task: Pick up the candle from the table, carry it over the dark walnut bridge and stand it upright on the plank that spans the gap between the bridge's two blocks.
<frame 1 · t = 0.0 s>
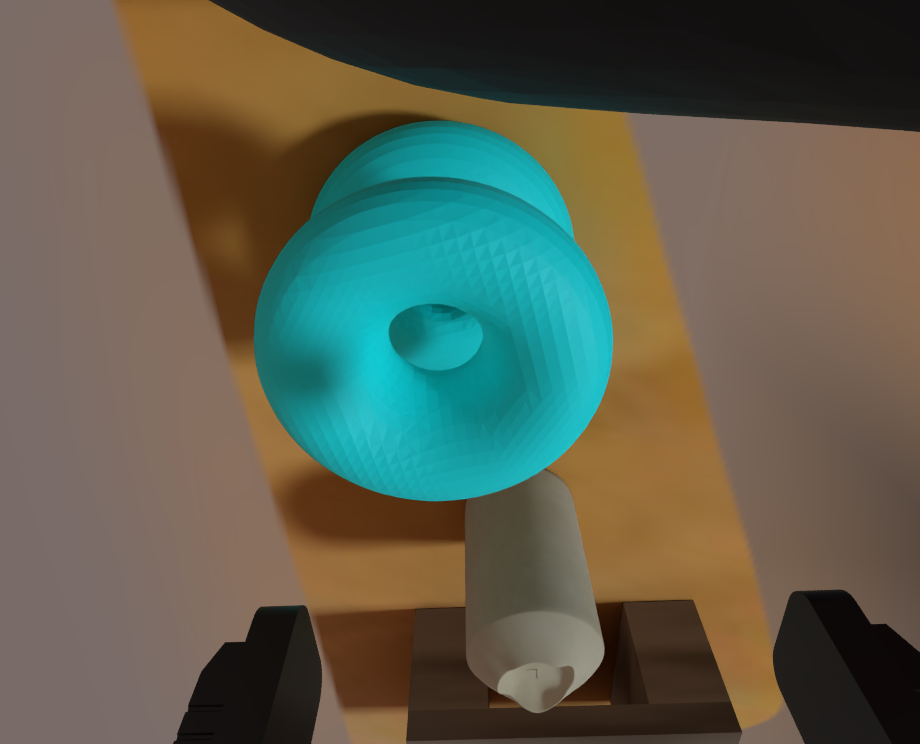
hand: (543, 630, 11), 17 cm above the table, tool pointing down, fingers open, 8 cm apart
bridge: (551, 657, 39), on the table
turquoise spool: (442, 244, 25), on the table
candle: (518, 501, 33), on the table
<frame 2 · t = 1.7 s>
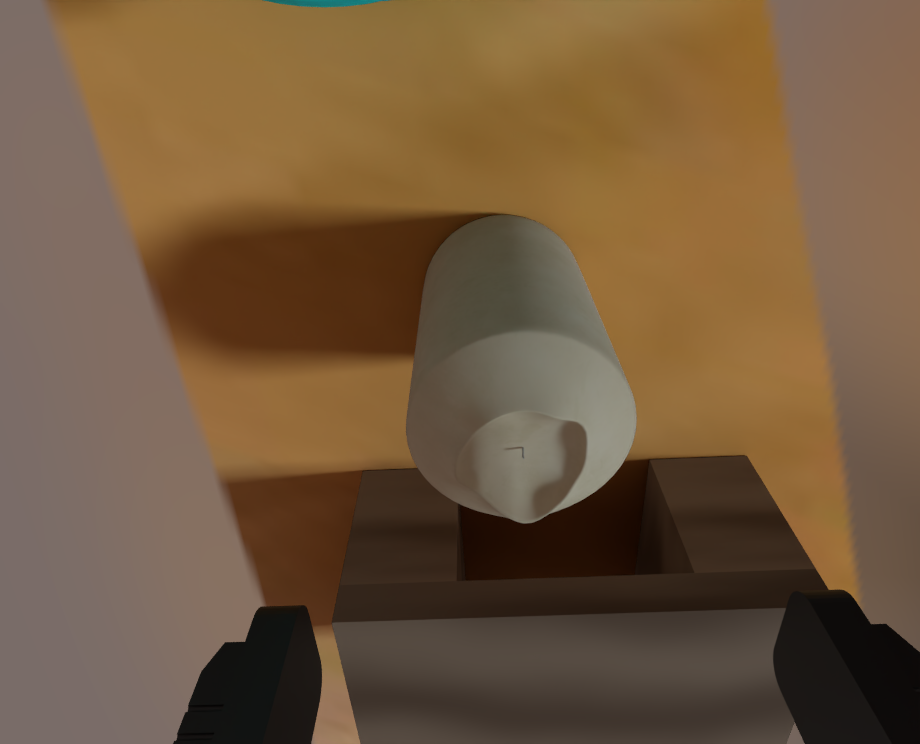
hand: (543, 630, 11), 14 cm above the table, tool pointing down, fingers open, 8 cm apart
bridge: (550, 548, 29), on the table
candle: (501, 286, 23), on the table
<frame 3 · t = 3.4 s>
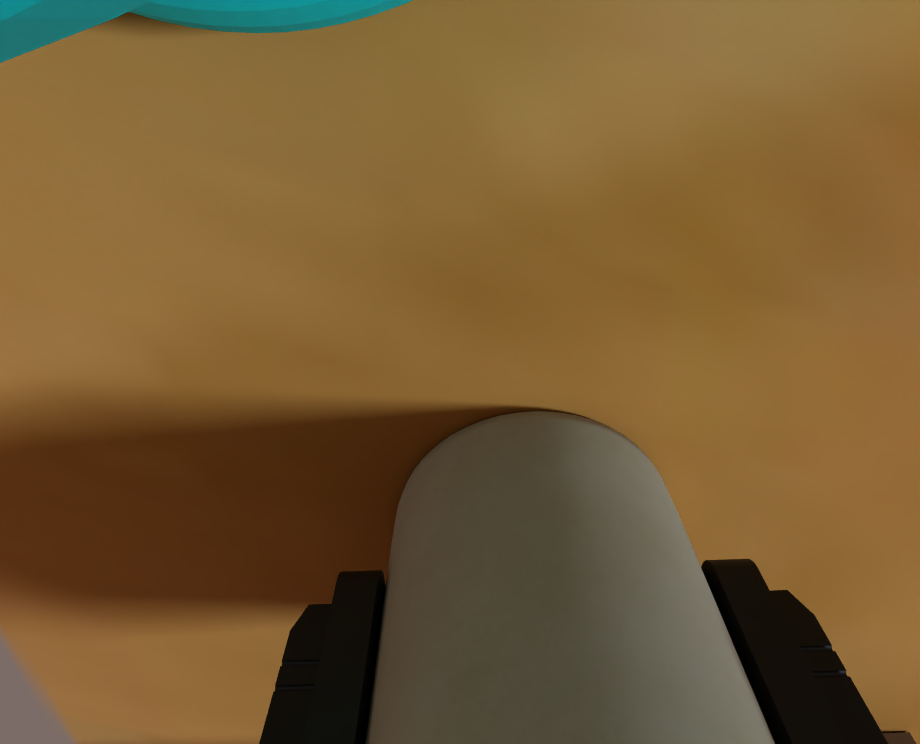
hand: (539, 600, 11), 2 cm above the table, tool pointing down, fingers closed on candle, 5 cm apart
candle: (529, 511, 13), on the table, touching gripper
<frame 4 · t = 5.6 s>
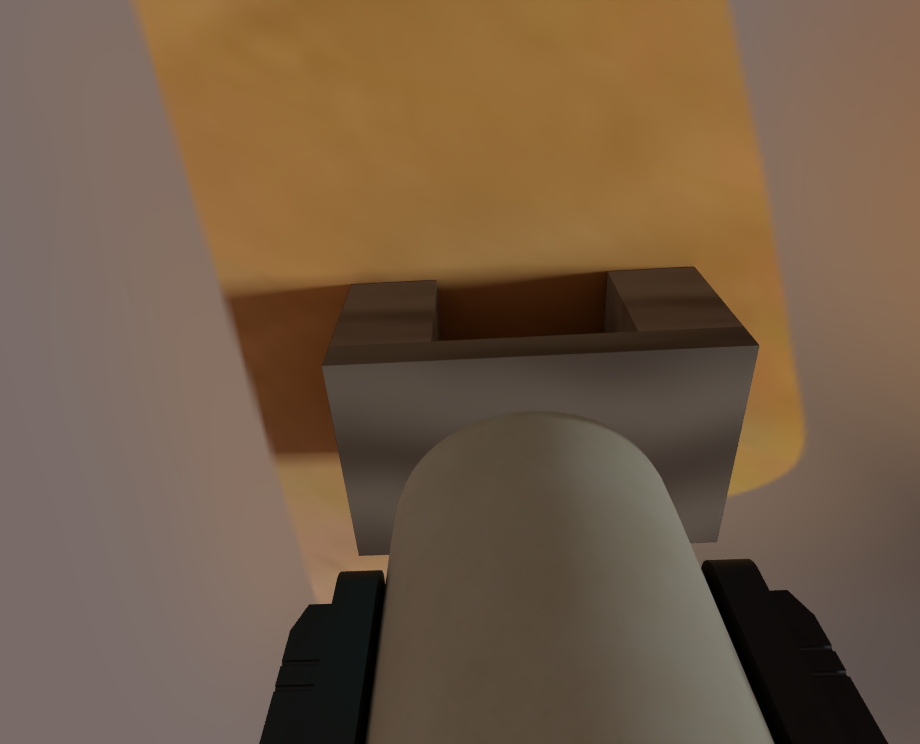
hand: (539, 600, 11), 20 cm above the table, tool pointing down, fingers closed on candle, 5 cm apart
bridge: (522, 367, 32), on the table
candle: (529, 511, 13), point 18 cm above the table, touching gripper
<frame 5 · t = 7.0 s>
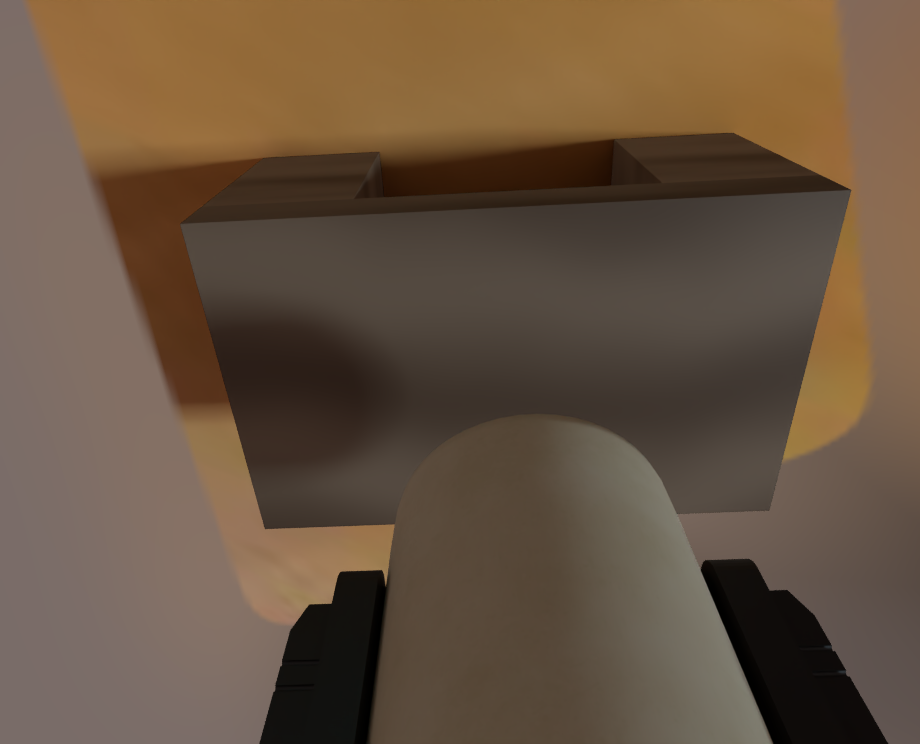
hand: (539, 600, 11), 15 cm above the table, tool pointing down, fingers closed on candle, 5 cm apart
bridge: (499, 282, 24), on the table
candle: (529, 514, 13), point 13 cm above the table, touching gripper
when the fingers open (11 cm above the table, at t = 8.2 s): candle drops 1 cm, resting on bridge.
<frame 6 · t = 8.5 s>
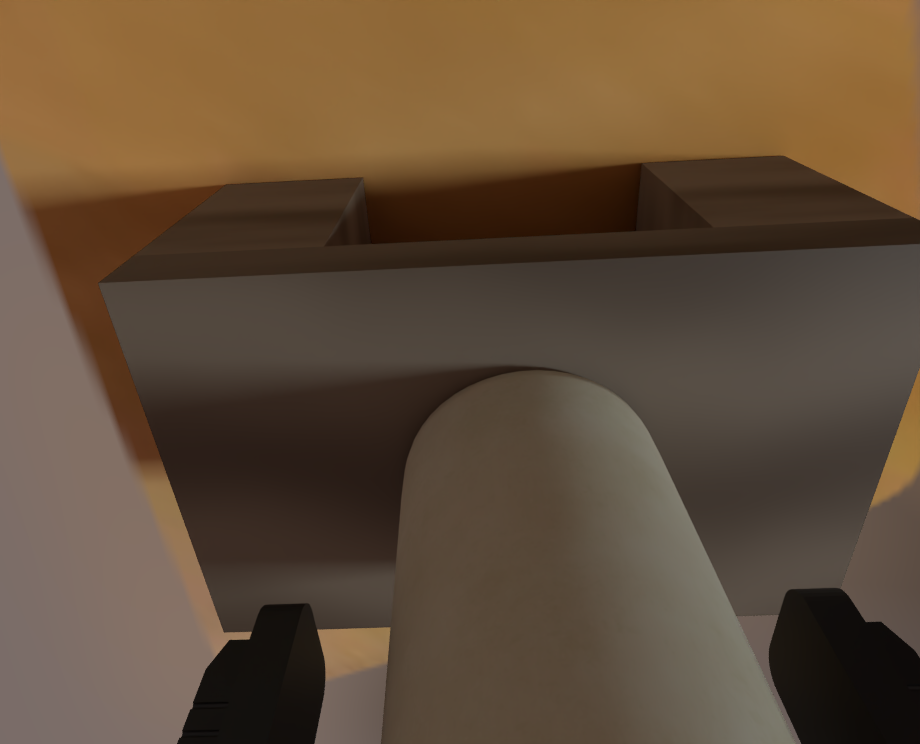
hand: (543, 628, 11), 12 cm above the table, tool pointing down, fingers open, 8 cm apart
bridge: (504, 327, 21), on the table
candle: (527, 466, 14), point 7 cm above the table, touching bridge
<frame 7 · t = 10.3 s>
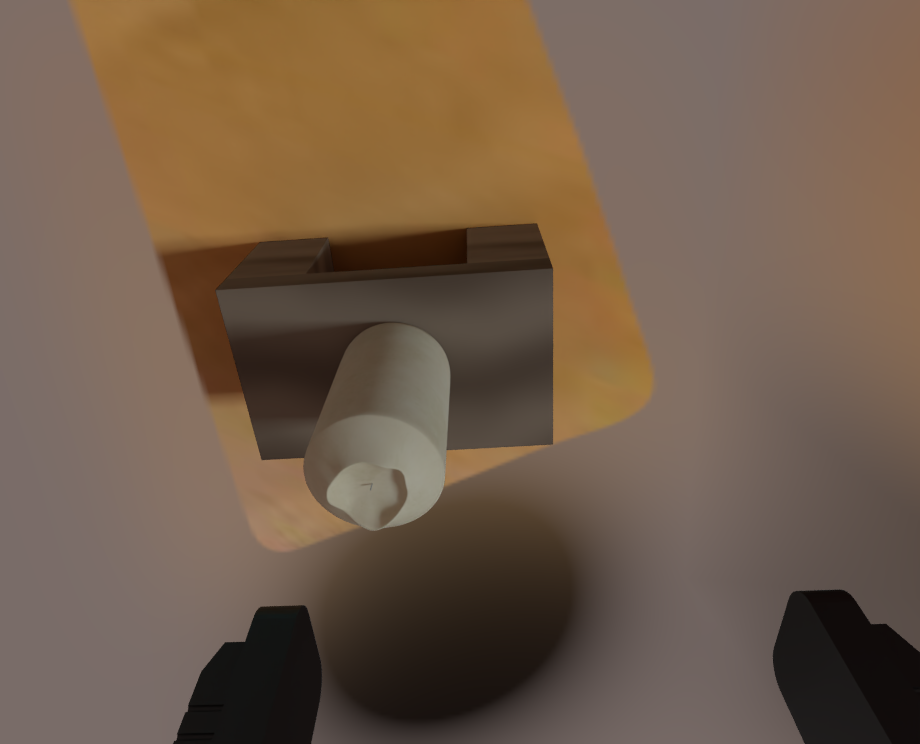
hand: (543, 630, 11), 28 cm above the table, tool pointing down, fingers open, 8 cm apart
bridge: (406, 313, 39), on the table
candle: (396, 368, 32), point 7 cm above the table, touching bridge
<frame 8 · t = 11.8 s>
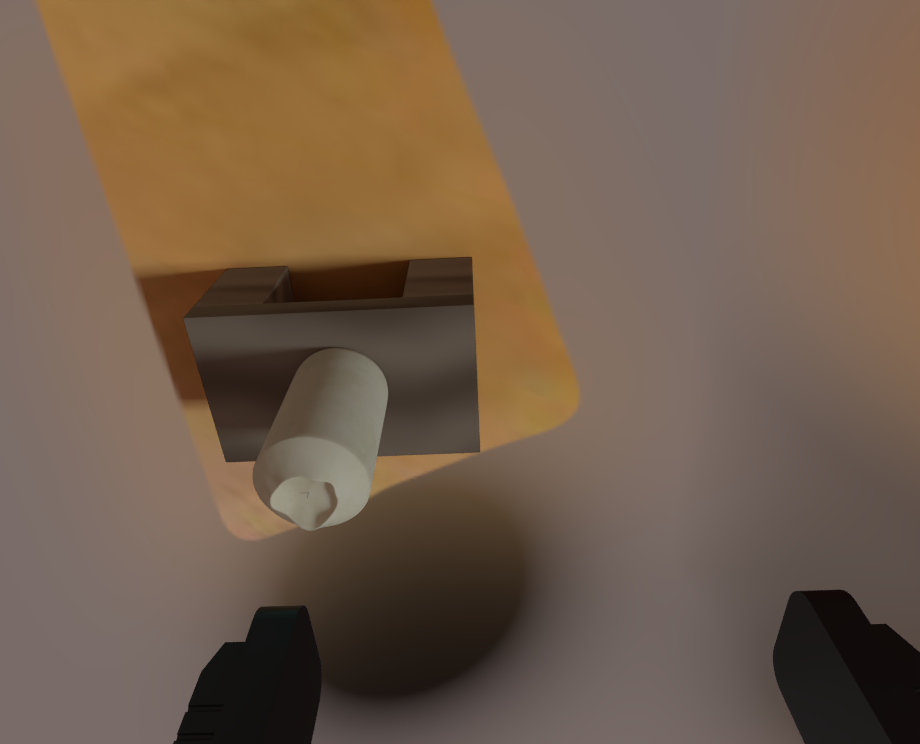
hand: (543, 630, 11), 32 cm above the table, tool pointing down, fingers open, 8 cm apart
bridge: (358, 332, 44), on the table
candle: (342, 385, 37), point 7 cm above the table, touching bridge
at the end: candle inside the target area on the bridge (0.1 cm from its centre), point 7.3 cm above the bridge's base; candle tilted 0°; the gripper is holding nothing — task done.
